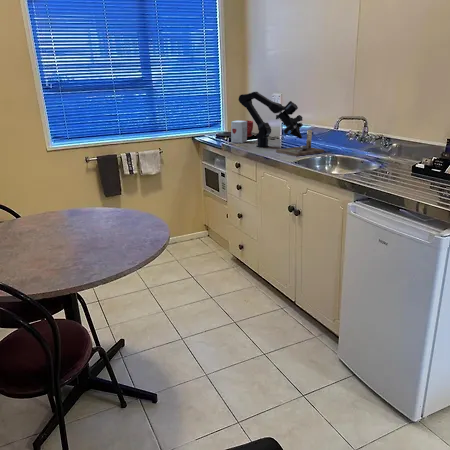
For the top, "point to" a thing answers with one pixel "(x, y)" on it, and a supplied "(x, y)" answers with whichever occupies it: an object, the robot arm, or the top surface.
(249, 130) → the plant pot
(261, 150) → the top surface
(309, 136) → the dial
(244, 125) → the supplement box
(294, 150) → the brown flat board
